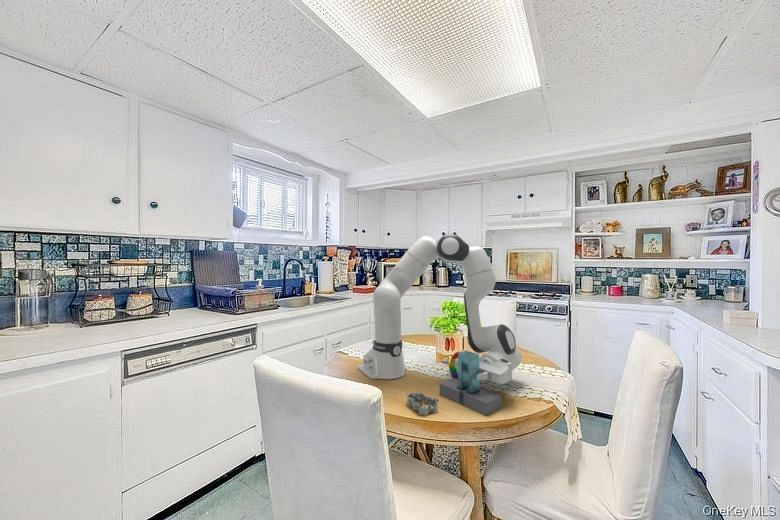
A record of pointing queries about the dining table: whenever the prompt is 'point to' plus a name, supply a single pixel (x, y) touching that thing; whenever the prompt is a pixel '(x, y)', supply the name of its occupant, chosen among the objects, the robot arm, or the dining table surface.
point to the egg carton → (417, 402)
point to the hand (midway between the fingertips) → (467, 374)
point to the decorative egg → (453, 365)
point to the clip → (468, 371)
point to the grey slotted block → (470, 397)
